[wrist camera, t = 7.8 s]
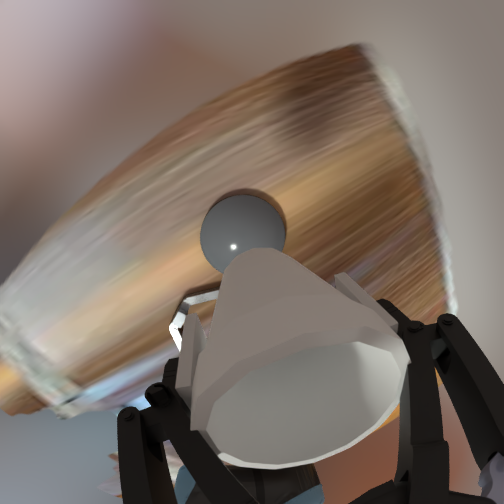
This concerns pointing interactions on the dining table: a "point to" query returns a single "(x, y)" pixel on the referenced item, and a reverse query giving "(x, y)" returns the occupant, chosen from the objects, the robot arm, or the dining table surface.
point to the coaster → (240, 229)
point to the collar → (183, 311)
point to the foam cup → (291, 366)
